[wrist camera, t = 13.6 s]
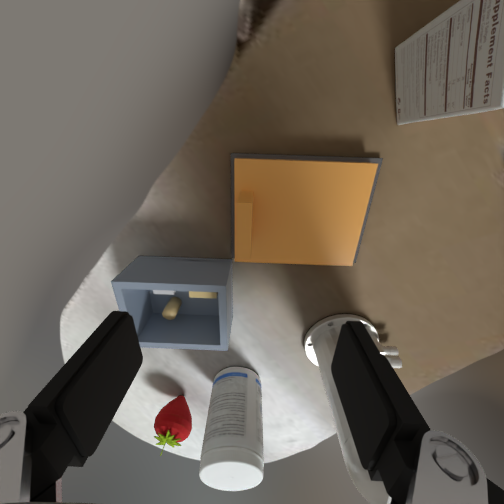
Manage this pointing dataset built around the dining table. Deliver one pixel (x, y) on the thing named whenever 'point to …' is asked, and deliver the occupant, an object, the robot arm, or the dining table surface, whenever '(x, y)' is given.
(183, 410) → the strawberry
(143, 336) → the parts tub
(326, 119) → the dining table surface
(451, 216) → the dining table surface
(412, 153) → the dining table surface
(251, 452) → the supplement tub
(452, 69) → the supplement box
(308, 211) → the lid
